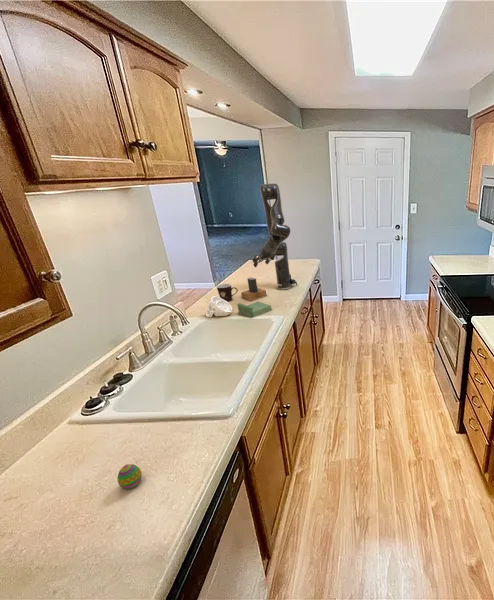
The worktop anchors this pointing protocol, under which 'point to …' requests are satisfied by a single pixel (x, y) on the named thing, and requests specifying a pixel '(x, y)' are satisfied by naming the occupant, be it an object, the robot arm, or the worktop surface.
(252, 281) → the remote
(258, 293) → the brown wooden block
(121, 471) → the egg
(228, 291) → the coffee mug
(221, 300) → the skull bowl
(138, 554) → the worktop surface
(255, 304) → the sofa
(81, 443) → the worktop surface
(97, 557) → the worktop surface
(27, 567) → the worktop surface
